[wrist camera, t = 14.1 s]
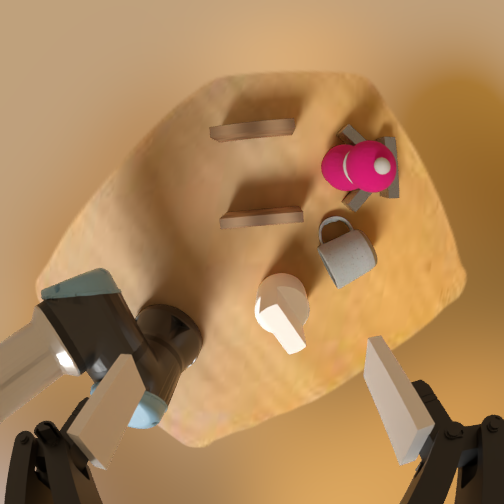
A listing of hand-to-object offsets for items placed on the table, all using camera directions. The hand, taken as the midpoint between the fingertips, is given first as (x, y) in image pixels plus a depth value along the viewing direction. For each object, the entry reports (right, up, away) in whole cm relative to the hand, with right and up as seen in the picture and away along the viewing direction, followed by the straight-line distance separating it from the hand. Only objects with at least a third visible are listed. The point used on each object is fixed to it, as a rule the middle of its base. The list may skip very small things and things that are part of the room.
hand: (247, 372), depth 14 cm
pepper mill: (+15, +20, +30) cm, 39 cm away
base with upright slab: (+6, -2, +37) cm, 37 cm away
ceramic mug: (+15, +8, +34) cm, 38 cm away
